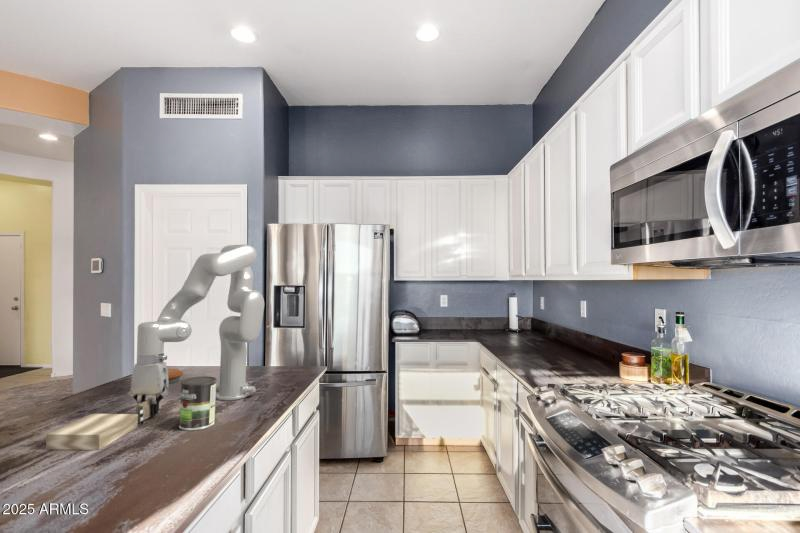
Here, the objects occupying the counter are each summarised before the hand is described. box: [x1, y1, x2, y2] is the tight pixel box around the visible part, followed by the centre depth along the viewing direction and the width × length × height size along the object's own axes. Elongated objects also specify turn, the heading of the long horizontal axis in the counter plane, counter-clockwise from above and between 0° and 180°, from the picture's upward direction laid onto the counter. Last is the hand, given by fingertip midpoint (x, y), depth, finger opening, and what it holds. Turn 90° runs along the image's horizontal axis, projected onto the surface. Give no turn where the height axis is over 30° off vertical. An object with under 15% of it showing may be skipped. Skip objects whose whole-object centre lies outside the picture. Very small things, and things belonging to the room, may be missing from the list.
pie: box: [167, 368, 184, 385], centre depth 172 cm, size 16×16×5 cm
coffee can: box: [178, 375, 218, 431], centre depth 124 cm, size 10×10×14 cm
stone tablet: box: [135, 396, 161, 426], centre depth 127 cm, size 6×4×12 cm
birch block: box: [45, 413, 139, 451], centre depth 113 cm, size 14×16×4 cm
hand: (148, 414), depth 129 cm, fingers closed on stone tablet, 3 cm apart
